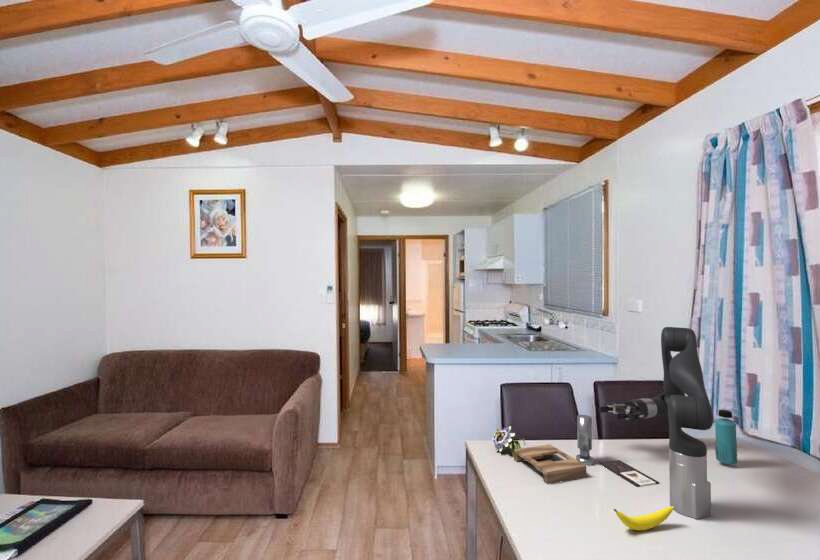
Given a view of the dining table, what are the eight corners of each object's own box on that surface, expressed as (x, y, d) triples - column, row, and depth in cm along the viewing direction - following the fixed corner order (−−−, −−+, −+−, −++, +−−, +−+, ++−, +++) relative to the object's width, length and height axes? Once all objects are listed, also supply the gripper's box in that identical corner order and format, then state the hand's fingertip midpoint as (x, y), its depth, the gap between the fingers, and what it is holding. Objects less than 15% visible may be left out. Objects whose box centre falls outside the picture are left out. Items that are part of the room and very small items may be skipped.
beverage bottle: (742, 469, 147) (741, 413, 148) (723, 468, 148) (722, 413, 148) (728, 461, 154) (727, 408, 154) (710, 461, 154) (710, 407, 154)
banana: (678, 527, 112) (678, 504, 112) (618, 536, 108) (618, 512, 108) (670, 521, 115) (669, 498, 115) (610, 530, 111) (610, 506, 111)
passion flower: (498, 465, 163) (484, 436, 169) (519, 456, 167) (505, 427, 173) (510, 459, 154) (495, 428, 160) (532, 449, 158) (517, 419, 164)
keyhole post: (597, 464, 151) (596, 418, 151) (583, 466, 149) (583, 420, 150) (585, 458, 157) (585, 413, 157) (572, 460, 155) (572, 415, 155)
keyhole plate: (586, 477, 141) (586, 465, 141) (547, 484, 136) (547, 472, 136) (549, 454, 160) (549, 444, 160) (514, 460, 155) (514, 449, 155)
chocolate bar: (619, 459, 154) (659, 482, 137) (619, 462, 154) (659, 485, 137) (598, 462, 152) (636, 485, 134) (598, 465, 152) (636, 488, 134)
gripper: (626, 394, 169) (594, 398, 164) (656, 404, 155) (622, 408, 150) (626, 412, 169) (594, 417, 164) (656, 424, 155) (623, 429, 150)
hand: (608, 413), depth 157 cm, fingers open, 8 cm apart
